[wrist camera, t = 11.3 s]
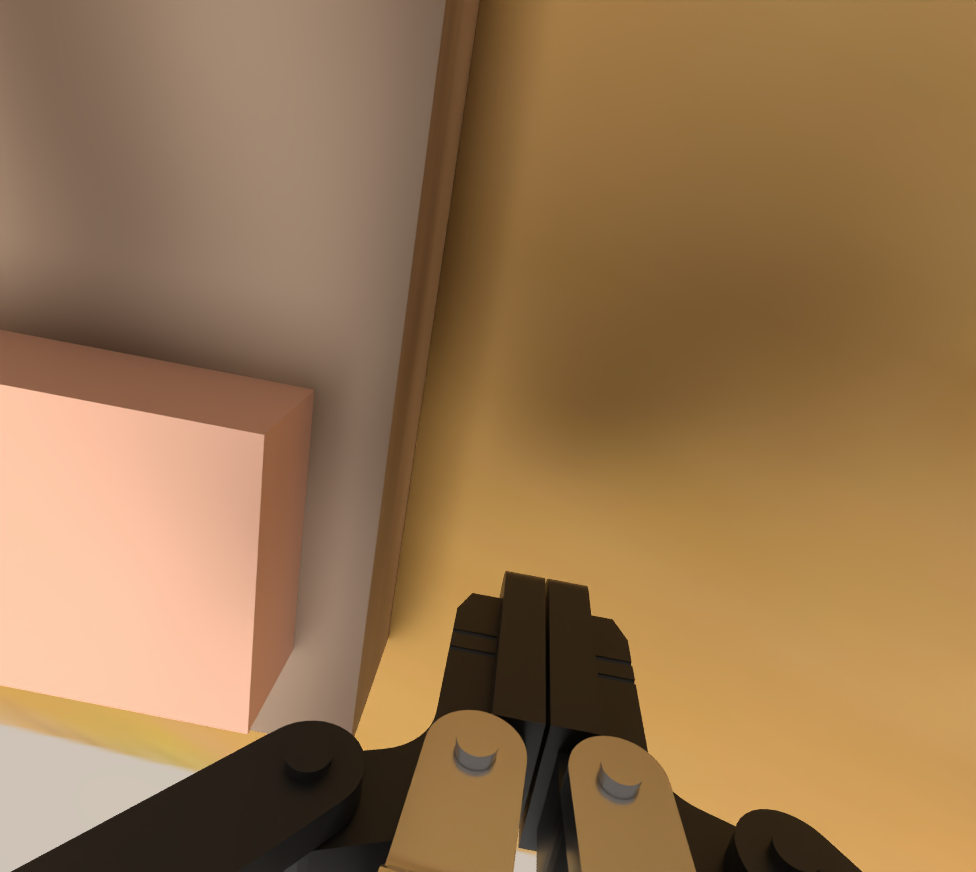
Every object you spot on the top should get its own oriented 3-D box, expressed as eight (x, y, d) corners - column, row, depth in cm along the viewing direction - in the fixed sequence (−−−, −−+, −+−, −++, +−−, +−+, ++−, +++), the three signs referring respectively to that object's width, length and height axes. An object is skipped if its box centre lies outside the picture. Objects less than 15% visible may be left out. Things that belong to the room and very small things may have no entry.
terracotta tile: (314, 389, 13) (263, 435, 10) (293, 649, 15) (247, 733, 12) (-105, 309, 13) (-245, 337, 10) (-65, 579, 15) (-174, 650, 13)
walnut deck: (518, -266, 12) (505, -464, 8) (387, 639, 19) (349, 749, 16) (-80, -371, 12) (-353, -612, 9) (11, 566, 19) (-115, 657, 16)
